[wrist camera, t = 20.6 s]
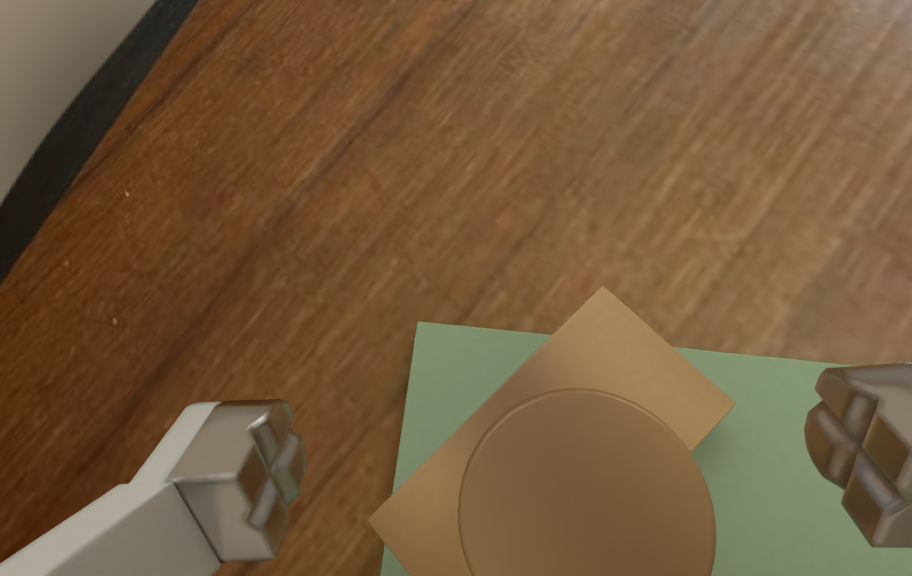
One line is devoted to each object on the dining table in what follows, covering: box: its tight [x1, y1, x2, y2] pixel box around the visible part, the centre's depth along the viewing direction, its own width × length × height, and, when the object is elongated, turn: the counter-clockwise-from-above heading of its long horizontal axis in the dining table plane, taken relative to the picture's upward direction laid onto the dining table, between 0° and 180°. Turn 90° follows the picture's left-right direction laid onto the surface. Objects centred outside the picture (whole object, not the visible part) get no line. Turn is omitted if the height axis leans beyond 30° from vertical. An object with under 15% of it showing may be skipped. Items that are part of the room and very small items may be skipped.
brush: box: [367, 286, 736, 576], centre depth 12 cm, size 10×5×12 cm, turn 134°
